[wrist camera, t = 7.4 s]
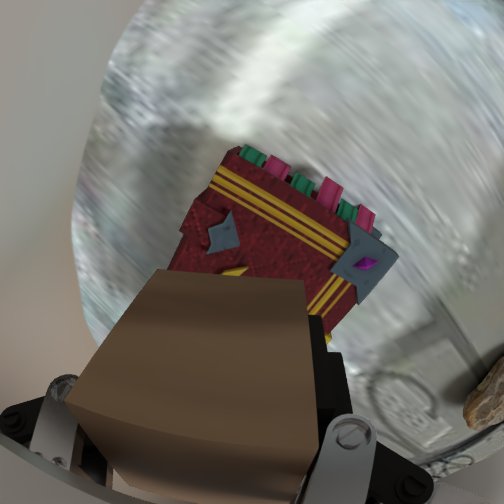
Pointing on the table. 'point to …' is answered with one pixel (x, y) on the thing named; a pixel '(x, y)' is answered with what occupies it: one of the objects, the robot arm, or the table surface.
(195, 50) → the table surface
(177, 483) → the walnut block
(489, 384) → the fossil
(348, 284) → the decorative book
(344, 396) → the robot arm
